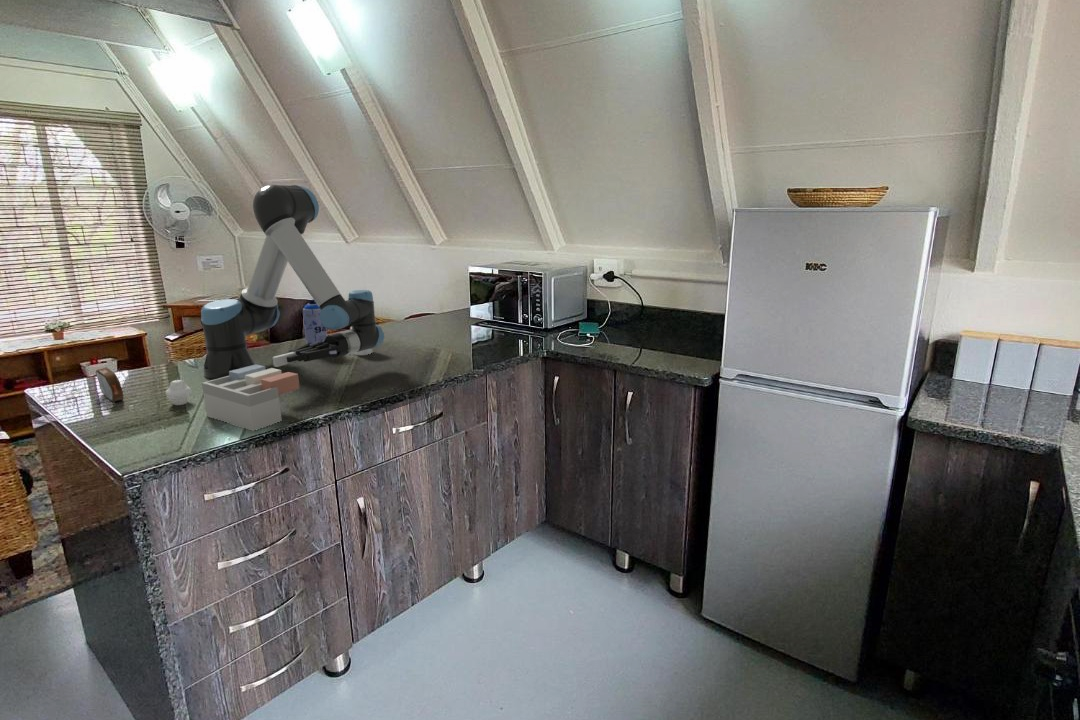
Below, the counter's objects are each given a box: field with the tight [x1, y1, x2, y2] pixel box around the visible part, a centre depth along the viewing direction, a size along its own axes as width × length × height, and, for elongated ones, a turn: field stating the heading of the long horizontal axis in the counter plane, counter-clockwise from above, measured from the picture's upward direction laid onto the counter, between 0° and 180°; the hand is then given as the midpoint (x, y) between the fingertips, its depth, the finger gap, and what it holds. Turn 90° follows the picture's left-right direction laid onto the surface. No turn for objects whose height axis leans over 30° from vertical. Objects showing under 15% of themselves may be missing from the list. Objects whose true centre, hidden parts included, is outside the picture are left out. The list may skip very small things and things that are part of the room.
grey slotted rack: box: [201, 376, 282, 432], centre depth 152 cm, size 20×8×9 cm, turn 59°
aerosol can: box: [302, 298, 328, 345], centre depth 215 cm, size 8×8×20 cm
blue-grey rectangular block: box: [229, 364, 266, 382], centre depth 160 cm, size 4×8×4 cm, turn 149°
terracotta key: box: [261, 371, 301, 396], centre depth 153 cm, size 4×8×4 cm, turn 149°
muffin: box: [165, 379, 192, 406], centre depth 164 cm, size 6×6×7 cm
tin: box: [95, 367, 124, 403], centre depth 168 cm, size 15×3×8 cm, turn 48°
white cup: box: [349, 326, 374, 356], centre depth 216 cm, size 8×8×10 cm
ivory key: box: [245, 367, 283, 386], centre depth 156 cm, size 4×8×4 cm, turn 149°
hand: (274, 361), depth 166 cm, fingers closed
